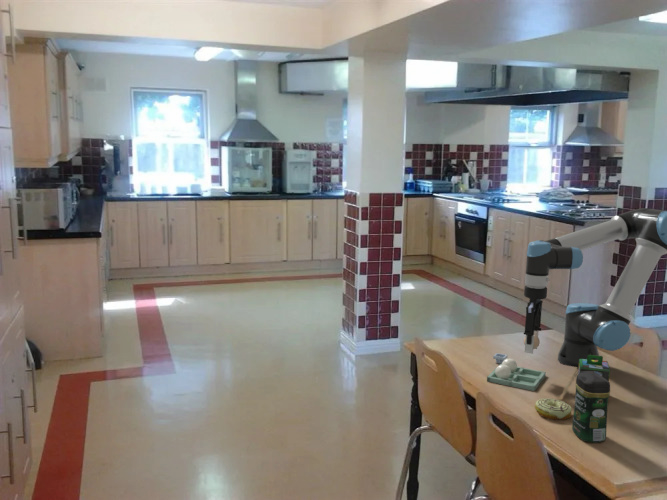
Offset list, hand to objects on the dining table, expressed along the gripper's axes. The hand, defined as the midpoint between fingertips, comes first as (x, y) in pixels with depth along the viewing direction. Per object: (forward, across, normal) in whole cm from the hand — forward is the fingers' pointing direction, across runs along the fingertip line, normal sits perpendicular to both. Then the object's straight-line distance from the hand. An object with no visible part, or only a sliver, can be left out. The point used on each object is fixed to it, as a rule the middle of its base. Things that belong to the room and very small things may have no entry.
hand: (530, 350), depth 218 cm
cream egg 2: (+10, -7, +7) cm, 14 cm away
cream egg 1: (+10, 0, +7) cm, 12 cm away
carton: (+11, -3, +3) cm, 12 cm away
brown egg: (-1, 0, 0) cm, 1 cm away
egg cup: (+11, +11, +13) cm, 20 cm away
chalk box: (+11, -3, -22) cm, 25 cm away
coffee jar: (+11, -34, -26) cm, 44 cm away
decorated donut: (+12, -24, -14) cm, 30 cm away
